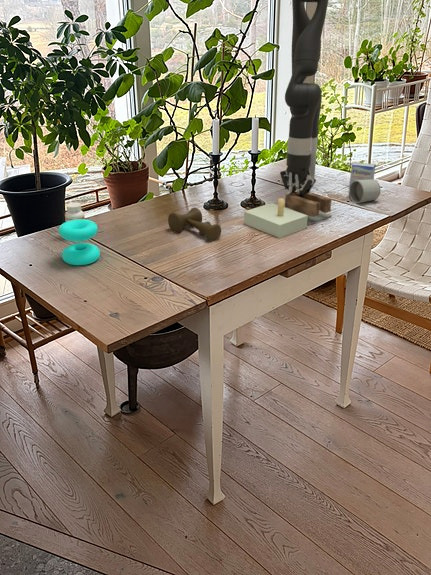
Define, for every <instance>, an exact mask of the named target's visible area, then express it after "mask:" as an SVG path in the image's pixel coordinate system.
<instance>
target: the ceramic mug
mask: <svg viewBox="0 0 431 575" xmlns="http://www.w3.org/2000/svg"><path fill="white" fill-rule="evenodd" d="M380 195H381V186H380V183H379V182H378V181H377V180H375V179H374V180H372V179H369V180H355V181H353V182H352V183H351V185H350V187H349V189H348V197H349V198H350V200H351V201H352V202H353V203H355V204H360V203H361V204H362V203H367V202H373V201H375V200H377V199H379V197H380Z"/></svg>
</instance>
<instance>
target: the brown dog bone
mask: <svg viewBox="0 0 431 575" xmlns="http://www.w3.org/2000/svg"><path fill="white" fill-rule="evenodd" d="M167 221H168V222H167V223H168V227H169V228H170V231H172V232H173V233H177V234H178V233H180V232H181V231H182V229H183V227H185V226H188V225H191V226H192V227H193V228H194V229H196V230H197V231H198V232H199V235H200V236H203V237H204V236H206V238H207V240H208V241H209V242H214V241H217V240H219V238H220V237H221V234H222V227H221V225H220V224H216V223H215V224H212V223H211V222H210V221H204V222H203V213H202V212H201V210H200V209H199V208H197V207H193V208H191V209H190V210H189V211H187V213H183V214H179V213H176V212H171V213H169V214H168V218H167Z"/></svg>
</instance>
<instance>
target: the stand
mask: <svg viewBox="0 0 431 575" xmlns="http://www.w3.org/2000/svg"><path fill="white" fill-rule="evenodd" d="M277 200H278V202H277V204H276V203H273V202H271V203H267V204H263V205H260V206H258V207H254V208H251V209H248V210H244V211H243V213H244V214H243V225H246V226H249V227H251V228H253V229H256V230H259V231H261V232H264V233H266V234H269V235H271V236H273V237H275V238H279V239H280V238H283V237H286V236H289V235H292V234H294V233H296V232H299V231H303V230H305V229H307V228H308V225H307V218H308V216H307V215H305V214H302V213H299V212H296V211H293V210H292V209H289V208H286V207H285V198H284V197H283V198H281V197H280V198H278V199H277Z"/></svg>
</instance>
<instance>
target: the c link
mask: <svg viewBox="0 0 431 575" xmlns="http://www.w3.org/2000/svg"><path fill="white" fill-rule="evenodd" d="M296 195H297V191H295V192H293V193H290V194H289V193H287V194H285V197H284V207H285V208H288V209H291V210H295V211H298V212H301V213H304V214H306V215H309V216H312V217H315V216H318V215H319V211H320V212H323V213H326V214H328V212H331V210H332V209H331V207H332V198H330V197H327V196H323V195H320V194H317V193H314V192H311V191H310V192H309V193H307V194H304V195H303V198H302V197H299V196H296Z"/></svg>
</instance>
